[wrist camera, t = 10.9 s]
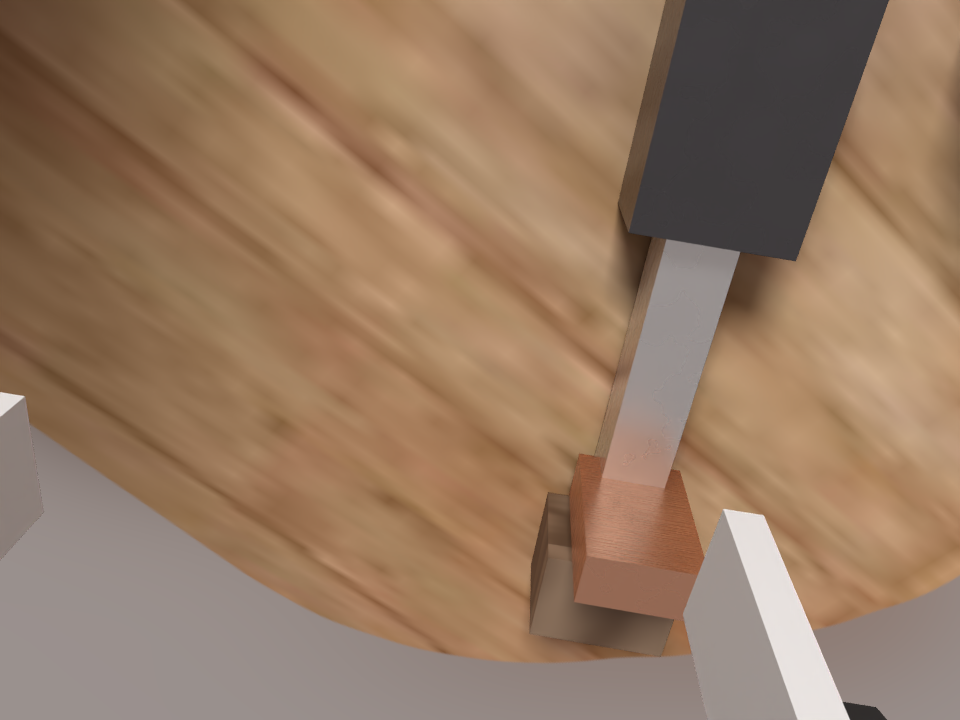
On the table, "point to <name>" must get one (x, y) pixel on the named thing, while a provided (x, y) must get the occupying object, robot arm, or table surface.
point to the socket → (576, 620)
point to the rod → (649, 442)
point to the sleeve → (744, 119)
